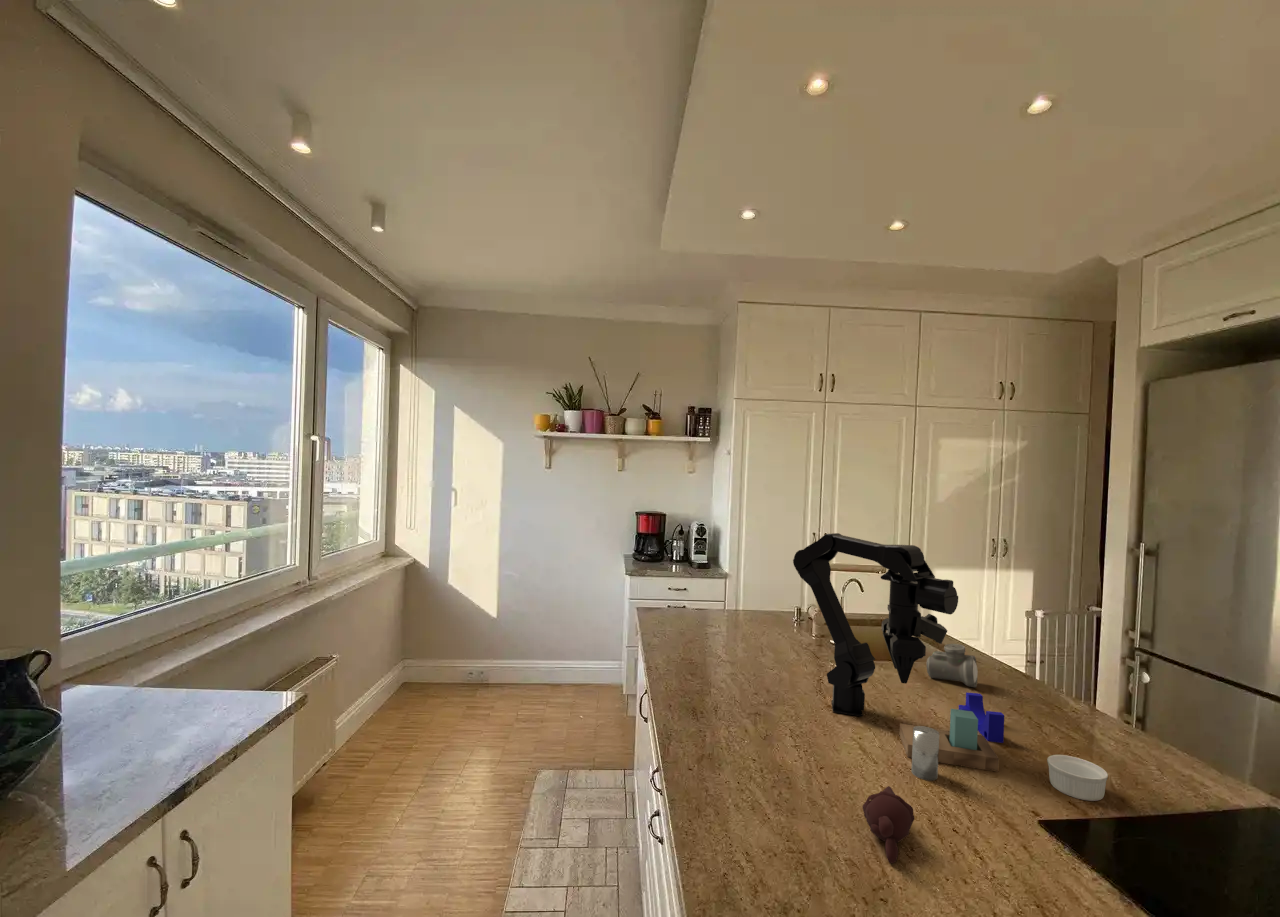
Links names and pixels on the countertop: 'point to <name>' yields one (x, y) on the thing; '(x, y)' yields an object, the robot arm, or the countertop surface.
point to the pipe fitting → (953, 665)
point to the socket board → (955, 750)
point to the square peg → (963, 729)
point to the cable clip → (985, 718)
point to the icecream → (888, 819)
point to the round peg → (925, 753)
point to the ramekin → (1077, 777)
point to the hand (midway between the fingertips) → (900, 675)
